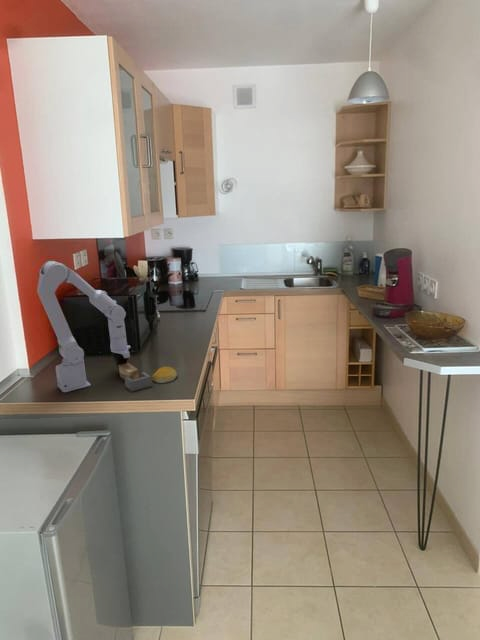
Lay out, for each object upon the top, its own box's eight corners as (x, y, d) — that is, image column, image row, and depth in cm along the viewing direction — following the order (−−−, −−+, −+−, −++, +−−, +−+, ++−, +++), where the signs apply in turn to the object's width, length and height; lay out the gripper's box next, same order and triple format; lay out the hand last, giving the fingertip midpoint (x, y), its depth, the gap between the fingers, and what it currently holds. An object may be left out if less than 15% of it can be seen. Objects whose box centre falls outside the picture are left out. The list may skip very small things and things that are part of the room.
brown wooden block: (130, 384, 165) (128, 372, 164) (119, 376, 173) (118, 364, 172) (139, 381, 167) (138, 369, 166) (129, 374, 175) (127, 362, 174)
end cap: (131, 391, 158) (130, 381, 157) (125, 386, 163) (124, 377, 162) (152, 385, 162) (151, 376, 161) (145, 381, 167) (144, 372, 166)
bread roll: (149, 383, 165) (147, 373, 164) (159, 374, 174) (158, 364, 173) (171, 384, 163) (170, 373, 162) (180, 375, 172) (179, 364, 171)
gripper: (136, 338, 168) (140, 374, 171) (121, 330, 179) (125, 363, 183) (117, 342, 164) (121, 379, 167) (103, 334, 176) (107, 368, 179)
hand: (122, 371), depth 175 cm, fingers closed
